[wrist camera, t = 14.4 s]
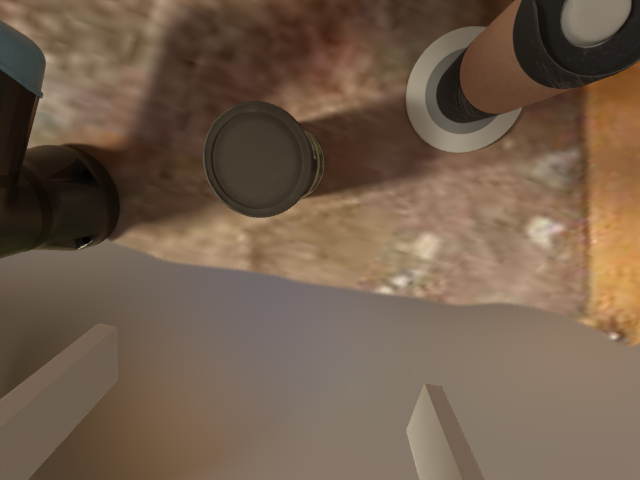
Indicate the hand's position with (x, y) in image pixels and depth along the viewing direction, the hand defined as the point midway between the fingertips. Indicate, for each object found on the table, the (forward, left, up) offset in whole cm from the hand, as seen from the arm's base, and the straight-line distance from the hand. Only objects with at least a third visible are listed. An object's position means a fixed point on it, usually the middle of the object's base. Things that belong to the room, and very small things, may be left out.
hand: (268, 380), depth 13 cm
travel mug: (+13, +21, -30) cm, 39 cm away
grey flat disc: (+13, +21, -31) cm, 39 cm away
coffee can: (-7, +8, -31) cm, 33 cm away
